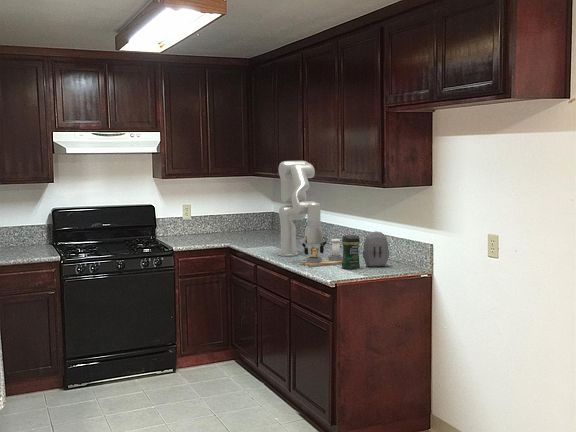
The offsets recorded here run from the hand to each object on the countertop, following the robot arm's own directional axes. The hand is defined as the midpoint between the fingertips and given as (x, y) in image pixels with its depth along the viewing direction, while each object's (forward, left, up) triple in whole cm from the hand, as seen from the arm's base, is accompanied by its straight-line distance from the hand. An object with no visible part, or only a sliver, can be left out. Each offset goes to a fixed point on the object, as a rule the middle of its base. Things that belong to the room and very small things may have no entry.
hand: (314, 253), depth 373 cm
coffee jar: (+20, +13, -7) cm, 25 cm away
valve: (0, 0, -5) cm, 5 cm away
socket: (0, 0, -5) cm, 5 cm away
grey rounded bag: (+22, +28, -7) cm, 36 cm away
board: (0, +6, -6) cm, 9 cm away
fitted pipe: (0, +14, -5) cm, 15 cm away
